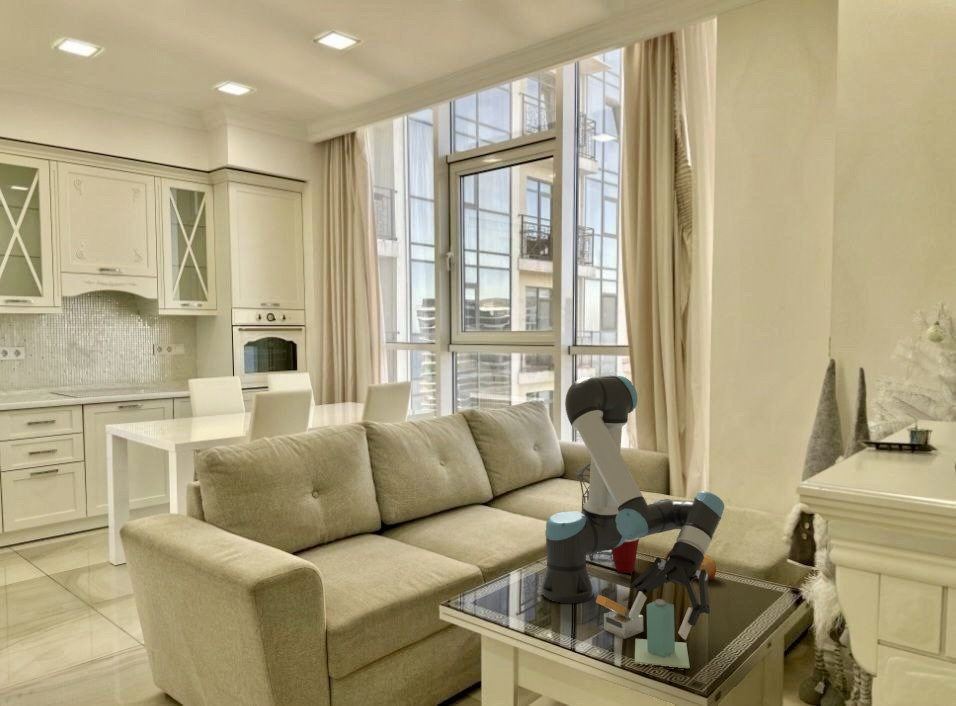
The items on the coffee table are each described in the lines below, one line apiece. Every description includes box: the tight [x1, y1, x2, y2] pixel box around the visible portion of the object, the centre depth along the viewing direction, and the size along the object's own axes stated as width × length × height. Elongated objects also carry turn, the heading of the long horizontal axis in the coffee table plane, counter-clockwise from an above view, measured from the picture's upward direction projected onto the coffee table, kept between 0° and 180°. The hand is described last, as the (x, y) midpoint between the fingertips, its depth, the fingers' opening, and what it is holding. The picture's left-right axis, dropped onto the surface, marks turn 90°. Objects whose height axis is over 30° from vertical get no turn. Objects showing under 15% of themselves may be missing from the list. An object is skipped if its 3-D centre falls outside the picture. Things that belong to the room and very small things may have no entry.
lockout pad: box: [634, 638, 691, 669], centre depth 153 cm, size 12×12×1 cm
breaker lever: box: [595, 594, 631, 617], centre depth 165 cm, size 2×4×10 cm
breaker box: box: [603, 610, 644, 640], centre depth 167 cm, size 7×7×4 cm
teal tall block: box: [646, 598, 676, 657], centre depth 153 cm, size 4×4×12 cm
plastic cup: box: [611, 538, 640, 574], centre depth 212 cm, size 11×11×12 cm
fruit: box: [694, 554, 717, 581], centre depth 203 cm, size 8×8×8 cm
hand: (656, 627), depth 152 cm, fingers open, 13 cm apart
